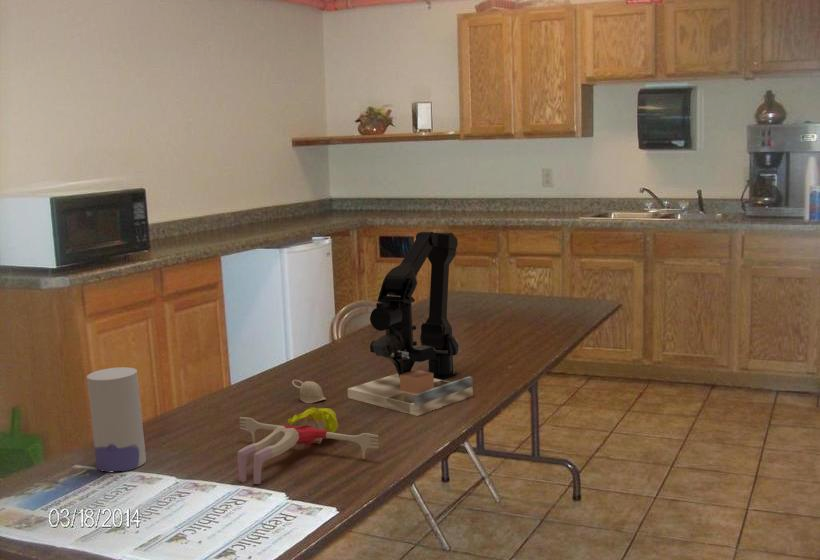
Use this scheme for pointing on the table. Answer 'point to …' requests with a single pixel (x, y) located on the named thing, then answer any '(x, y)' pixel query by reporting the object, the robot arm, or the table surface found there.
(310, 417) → the toy
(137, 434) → the container
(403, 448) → the table surface
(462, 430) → the table surface
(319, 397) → the beige domed piece
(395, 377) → the tray
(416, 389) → the terracotta block
